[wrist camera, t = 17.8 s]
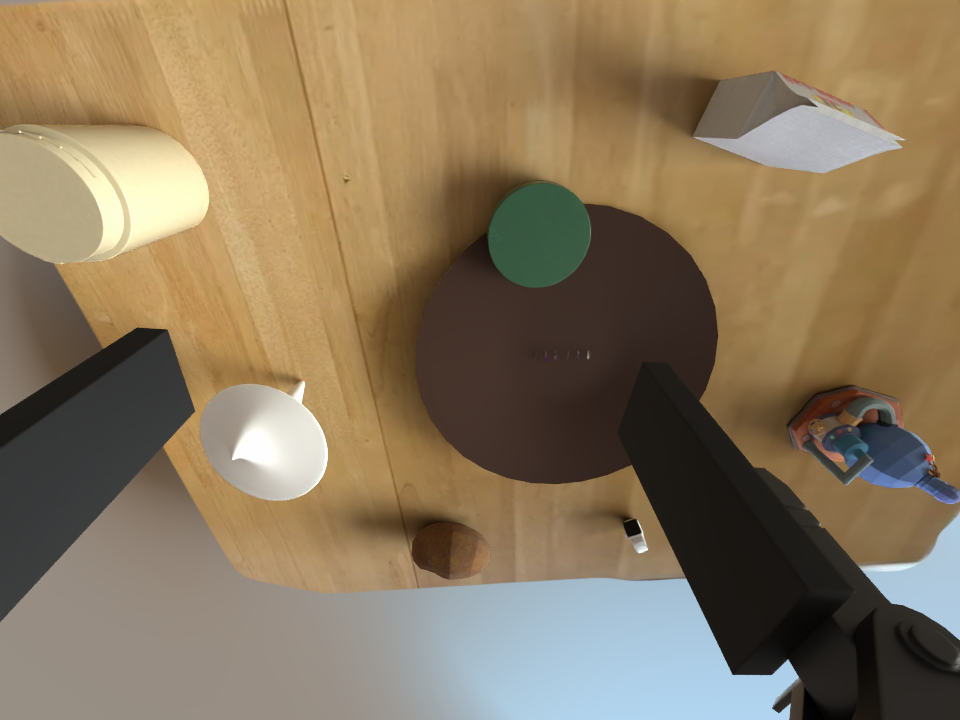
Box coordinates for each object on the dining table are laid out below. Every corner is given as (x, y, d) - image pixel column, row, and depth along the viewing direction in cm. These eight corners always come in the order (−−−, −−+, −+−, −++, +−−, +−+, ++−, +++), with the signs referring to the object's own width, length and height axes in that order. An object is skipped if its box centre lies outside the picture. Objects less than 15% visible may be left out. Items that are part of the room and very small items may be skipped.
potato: (414, 510, 50) (407, 556, 45) (492, 512, 51) (495, 558, 46) (414, 544, 54) (408, 591, 48) (487, 545, 54) (490, 592, 49)
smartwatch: (641, 528, 53) (653, 555, 50) (625, 533, 54) (636, 561, 50) (634, 511, 52) (645, 538, 48) (617, 516, 52) (628, 544, 49)
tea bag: (766, 165, 32) (878, 180, 23) (691, 137, 30) (780, 141, 22) (797, 113, 30) (932, 107, 21) (719, 80, 29) (828, 60, 20)
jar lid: (509, 295, 36) (511, 303, 34) (469, 209, 32) (469, 213, 31) (597, 255, 34) (603, 262, 33) (565, 160, 31) (571, 162, 29)
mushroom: (224, 369, 40) (137, 455, 29) (308, 317, 37) (246, 391, 27) (298, 438, 44) (246, 534, 34) (377, 396, 42) (347, 486, 31)
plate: (747, 200, 33) (777, 208, 30) (670, 456, 47) (684, 480, 44) (403, 206, 32) (396, 215, 29) (429, 463, 46) (426, 487, 43)
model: (917, 405, 44) (1017, 467, 36) (853, 464, 48) (930, 532, 40) (830, 377, 42) (917, 436, 34) (772, 442, 46) (836, 508, 38)
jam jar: (93, 110, 29) (-72, 102, 20) (207, 143, 30) (99, 150, 21) (110, 217, 32) (-23, 250, 24) (211, 243, 34) (120, 284, 25)
